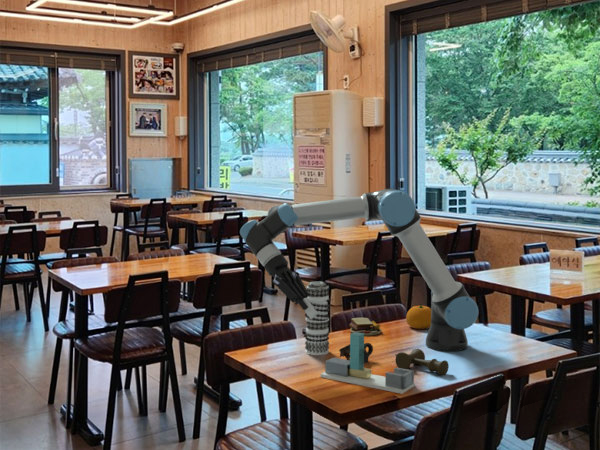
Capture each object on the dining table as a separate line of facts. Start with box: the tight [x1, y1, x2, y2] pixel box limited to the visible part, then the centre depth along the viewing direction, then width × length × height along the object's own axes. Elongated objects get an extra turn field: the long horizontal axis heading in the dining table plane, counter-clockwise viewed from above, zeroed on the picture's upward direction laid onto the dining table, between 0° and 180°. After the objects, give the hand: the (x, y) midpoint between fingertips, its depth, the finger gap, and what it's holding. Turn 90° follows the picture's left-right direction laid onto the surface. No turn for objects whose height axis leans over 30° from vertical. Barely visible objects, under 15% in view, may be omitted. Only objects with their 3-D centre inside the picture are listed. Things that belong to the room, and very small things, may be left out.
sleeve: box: [324, 357, 350, 377], centre depth 237 cm, size 8×5×4 cm, turn 56°
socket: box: [385, 366, 415, 390], centre depth 225 cm, size 6×7×4 cm
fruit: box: [405, 303, 431, 330], centre depth 301 cm, size 12×12×10 cm
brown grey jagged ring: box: [339, 342, 374, 365], centre depth 253 cm, size 12×10×8 cm
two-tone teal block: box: [348, 332, 372, 379], centre depth 234 cm, size 14×3×13 cm, turn 56°
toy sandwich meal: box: [349, 317, 382, 337], centre depth 294 cm, size 12×14×5 cm
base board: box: [320, 371, 416, 395], centre depth 232 cm, size 28×9×1 cm, turn 56°
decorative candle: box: [304, 280, 331, 356], centre depth 264 cm, size 9×9×25 cm
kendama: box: [395, 348, 449, 377], centre depth 244 cm, size 6×10×20 cm
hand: (314, 316), depth 241 cm, fingers closed
